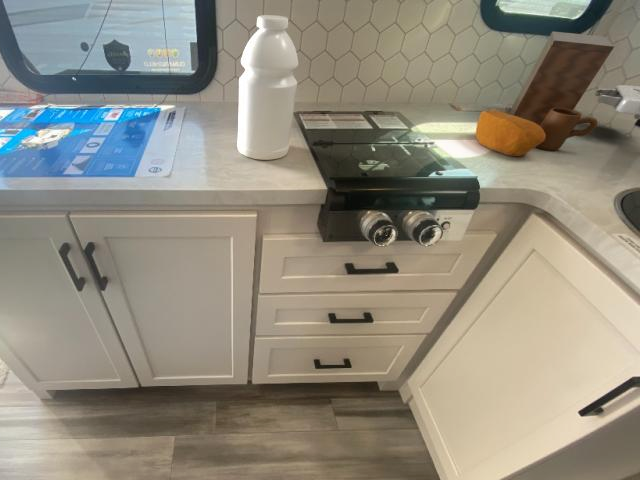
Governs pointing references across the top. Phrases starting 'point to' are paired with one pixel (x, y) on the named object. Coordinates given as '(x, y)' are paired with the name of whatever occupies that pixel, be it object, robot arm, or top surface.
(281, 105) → the bottle
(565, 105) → the wooden board
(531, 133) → the bread
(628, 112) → the robot arm
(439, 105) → the top surface
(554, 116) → the mug
